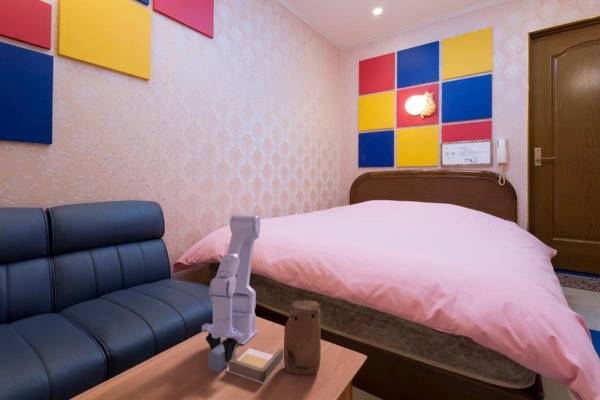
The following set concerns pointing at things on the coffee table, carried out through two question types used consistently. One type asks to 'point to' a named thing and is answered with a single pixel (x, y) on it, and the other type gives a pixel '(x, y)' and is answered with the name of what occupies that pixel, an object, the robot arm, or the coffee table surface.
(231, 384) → the coffee table surface
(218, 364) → the bar
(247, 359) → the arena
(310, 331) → the brown tall cylinder
